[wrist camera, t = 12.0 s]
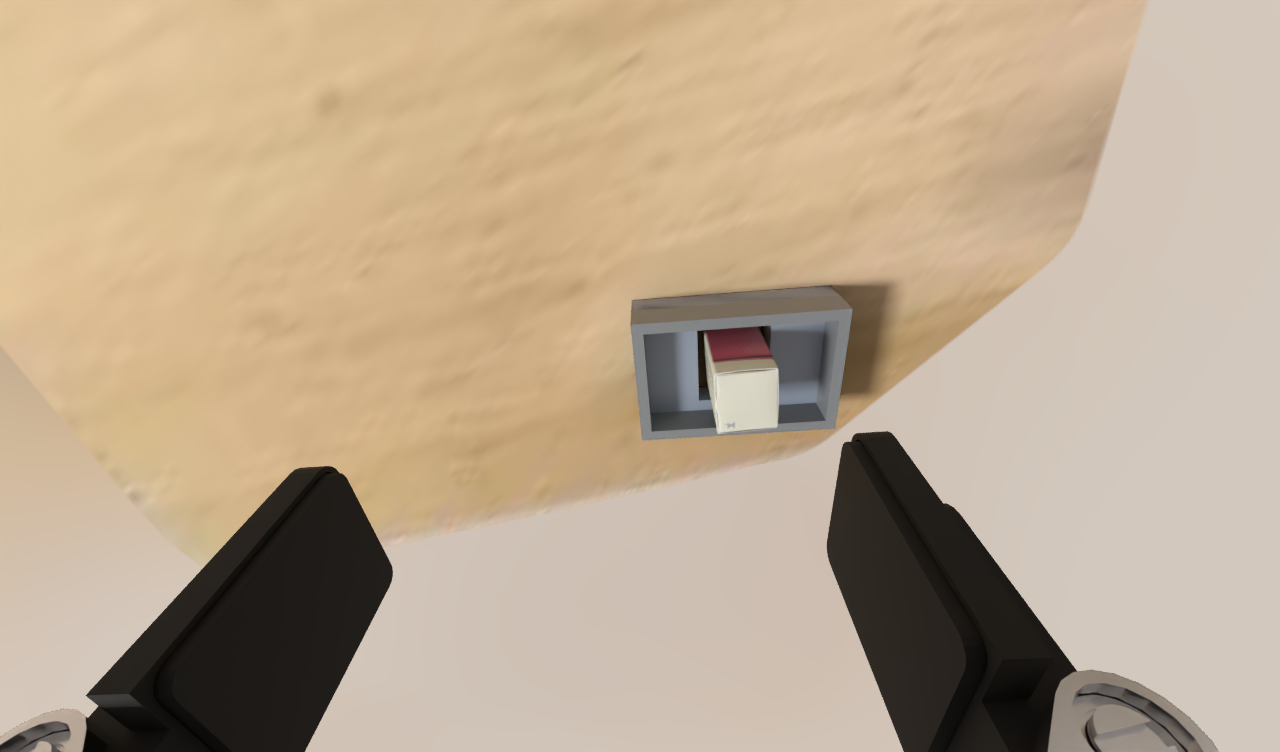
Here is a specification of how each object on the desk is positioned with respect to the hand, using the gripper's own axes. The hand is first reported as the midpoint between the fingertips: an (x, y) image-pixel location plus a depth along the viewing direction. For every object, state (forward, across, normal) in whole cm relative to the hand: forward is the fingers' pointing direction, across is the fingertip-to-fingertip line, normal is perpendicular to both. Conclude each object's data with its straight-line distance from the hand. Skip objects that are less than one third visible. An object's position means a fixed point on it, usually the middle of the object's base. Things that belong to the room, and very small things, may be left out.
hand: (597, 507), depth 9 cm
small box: (+28, -7, +12) cm, 32 cm away
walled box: (+28, -7, +12) cm, 32 cm away
